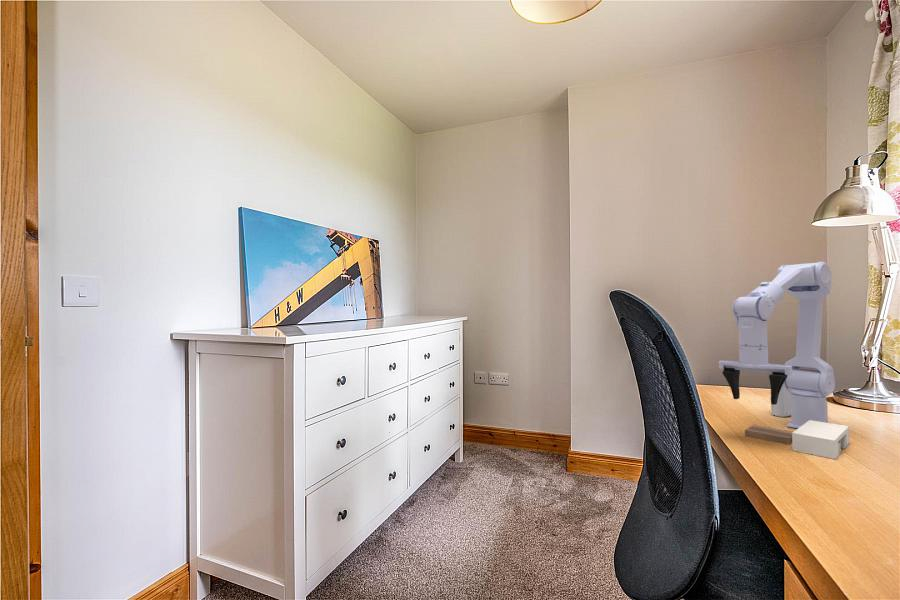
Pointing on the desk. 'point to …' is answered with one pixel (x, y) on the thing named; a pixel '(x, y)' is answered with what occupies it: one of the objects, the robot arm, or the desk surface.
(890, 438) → the desk surface
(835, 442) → the white shelf
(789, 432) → the walnut panel
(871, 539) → the desk surface
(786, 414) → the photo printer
